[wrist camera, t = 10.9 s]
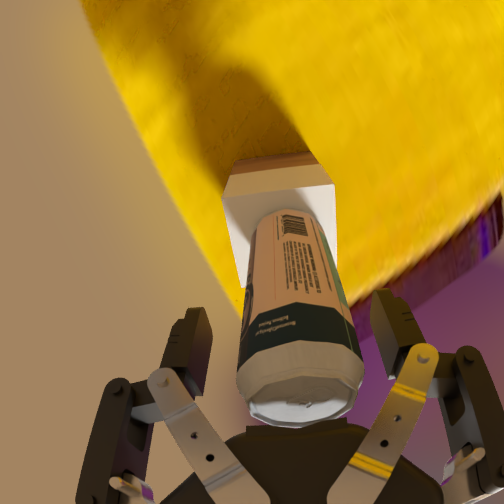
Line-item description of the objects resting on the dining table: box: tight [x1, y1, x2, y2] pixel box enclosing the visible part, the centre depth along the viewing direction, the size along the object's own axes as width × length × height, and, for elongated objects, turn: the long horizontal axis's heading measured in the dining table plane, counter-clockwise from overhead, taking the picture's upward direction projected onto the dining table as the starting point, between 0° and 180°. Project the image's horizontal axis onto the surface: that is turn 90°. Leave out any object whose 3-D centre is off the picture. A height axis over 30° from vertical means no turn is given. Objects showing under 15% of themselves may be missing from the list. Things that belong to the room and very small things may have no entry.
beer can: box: [236, 208, 365, 428], centre depth 14 cm, size 5×5×12 cm
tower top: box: [222, 164, 337, 288], centre depth 22 cm, size 7×7×5 cm
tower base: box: [230, 151, 319, 175], centre depth 26 cm, size 7×7×5 cm
